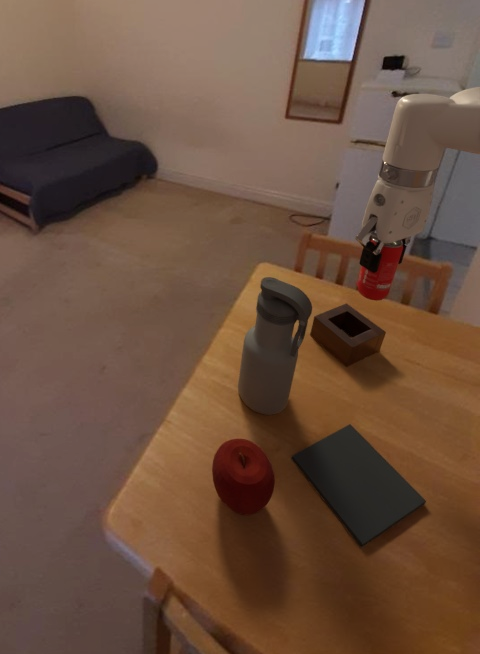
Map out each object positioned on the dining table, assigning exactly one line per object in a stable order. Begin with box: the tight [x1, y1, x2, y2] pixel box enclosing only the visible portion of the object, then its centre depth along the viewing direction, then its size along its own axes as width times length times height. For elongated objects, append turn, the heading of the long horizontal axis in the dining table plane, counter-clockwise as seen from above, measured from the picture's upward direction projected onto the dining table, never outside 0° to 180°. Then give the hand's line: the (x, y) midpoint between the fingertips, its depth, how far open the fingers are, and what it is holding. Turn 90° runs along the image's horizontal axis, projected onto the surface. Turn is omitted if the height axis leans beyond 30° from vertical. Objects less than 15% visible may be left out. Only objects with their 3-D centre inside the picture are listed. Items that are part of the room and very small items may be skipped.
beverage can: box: [356, 238, 403, 302], centre depth 74 cm, size 5×5×12 cm
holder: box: [309, 302, 387, 368], centre depth 92 cm, size 10×10×6 cm
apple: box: [211, 438, 276, 516], centre depth 64 cm, size 10×10×10 cm
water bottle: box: [237, 276, 313, 416], centre depth 76 cm, size 10×10×28 cm
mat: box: [291, 423, 427, 549], centre depth 68 cm, size 14×14×1 cm
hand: (380, 263), depth 73 cm, fingers closed on beverage can, 5 cm apart
